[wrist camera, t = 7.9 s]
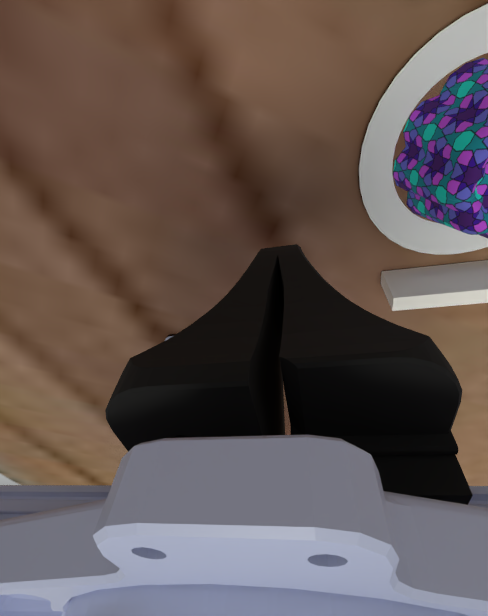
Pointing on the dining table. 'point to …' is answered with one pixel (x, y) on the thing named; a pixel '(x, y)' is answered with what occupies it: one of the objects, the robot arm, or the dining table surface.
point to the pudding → (433, 146)
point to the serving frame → (436, 285)
